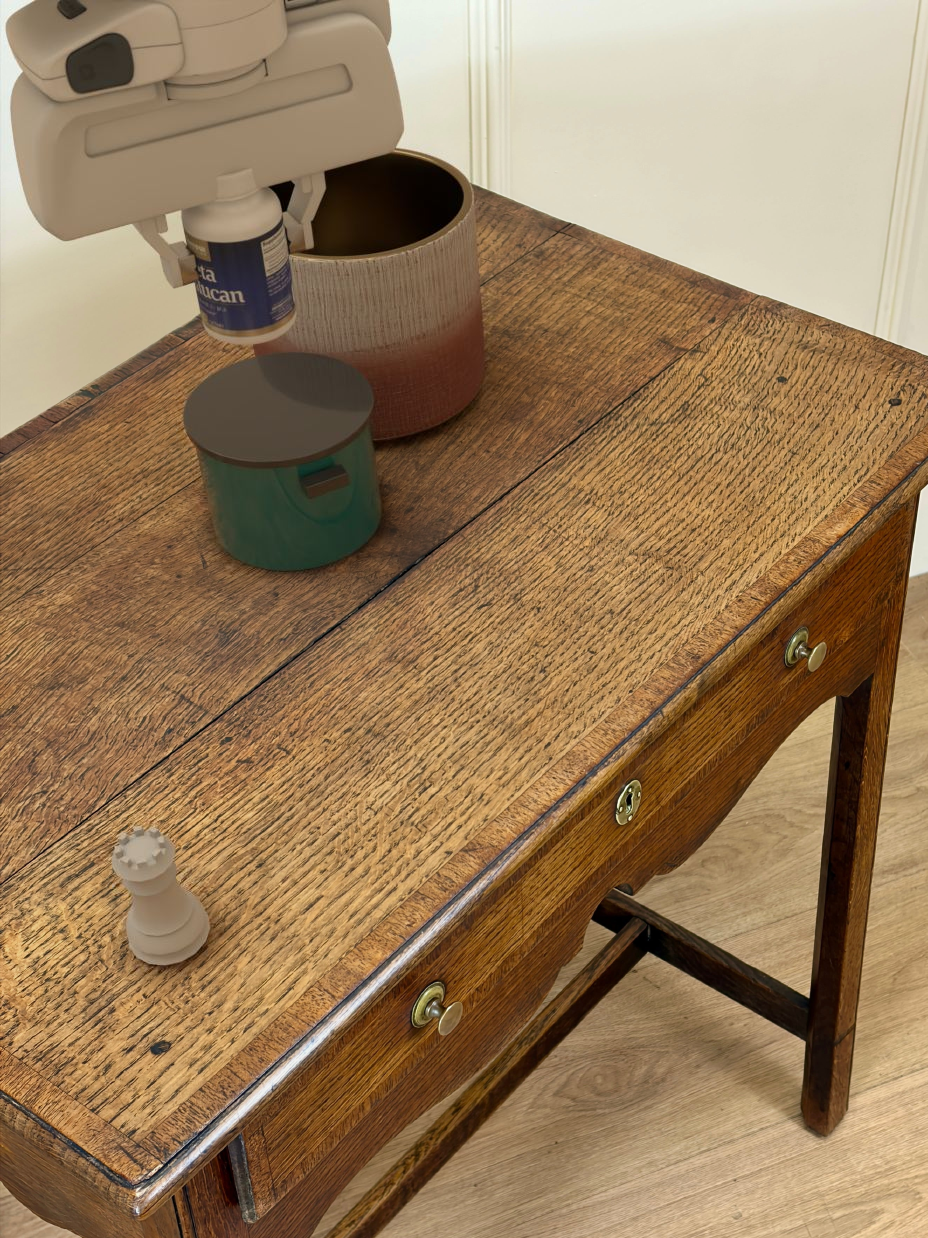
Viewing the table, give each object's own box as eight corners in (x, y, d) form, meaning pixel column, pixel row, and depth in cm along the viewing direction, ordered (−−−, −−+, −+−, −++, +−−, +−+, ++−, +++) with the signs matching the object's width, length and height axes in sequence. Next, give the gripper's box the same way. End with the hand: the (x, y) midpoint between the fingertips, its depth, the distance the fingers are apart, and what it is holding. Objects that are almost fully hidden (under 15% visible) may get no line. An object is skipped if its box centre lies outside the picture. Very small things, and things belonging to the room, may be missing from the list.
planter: (320, 311, 126) (294, 130, 115) (517, 345, 121) (510, 160, 110) (223, 428, 114) (183, 240, 103) (436, 470, 110) (419, 278, 99)
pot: (256, 606, 100) (231, 493, 93) (177, 492, 109) (150, 380, 102) (424, 542, 104) (413, 428, 97) (335, 437, 113) (319, 326, 106)
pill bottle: (186, 339, 84) (150, 174, 77) (230, 291, 87) (199, 130, 80) (272, 355, 82) (243, 188, 75) (313, 306, 86) (290, 142, 79)
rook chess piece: (134, 906, 83) (100, 813, 77) (215, 900, 83) (187, 807, 77) (125, 973, 80) (89, 882, 74) (208, 967, 80) (179, 875, 74)
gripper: (358, -57, 78) (383, 193, 88) (-30, 29, 71) (45, 289, 81) (412, -19, 74) (432, 238, 84) (7, 75, 67) (81, 342, 77)
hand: (239, 264), depth 82 cm, fingers closed on pill bottle, 5 cm apart
